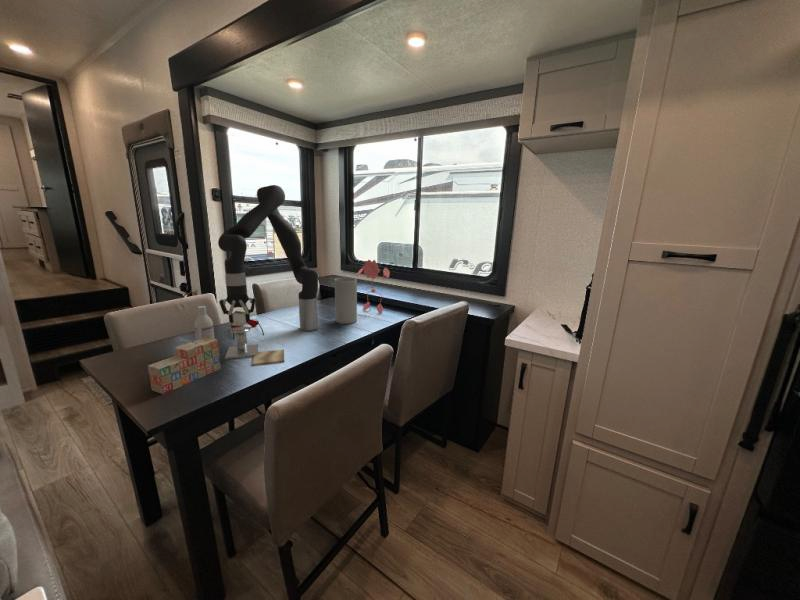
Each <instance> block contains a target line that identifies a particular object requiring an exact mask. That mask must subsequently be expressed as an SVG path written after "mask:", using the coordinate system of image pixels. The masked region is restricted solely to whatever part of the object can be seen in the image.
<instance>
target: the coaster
mask: <svg viewBox="0 0 800 600" xmlns="http://www.w3.org/2000/svg"><path fill="white" fill-rule="evenodd" d="M279 363H285V349H284V348H283V349H277V350H276V349H275V350H266V351H265V350H264V351H258V352H257V355H254V357H252V364H251V365H252V366H262V365H270V364H279Z"/></svg>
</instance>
